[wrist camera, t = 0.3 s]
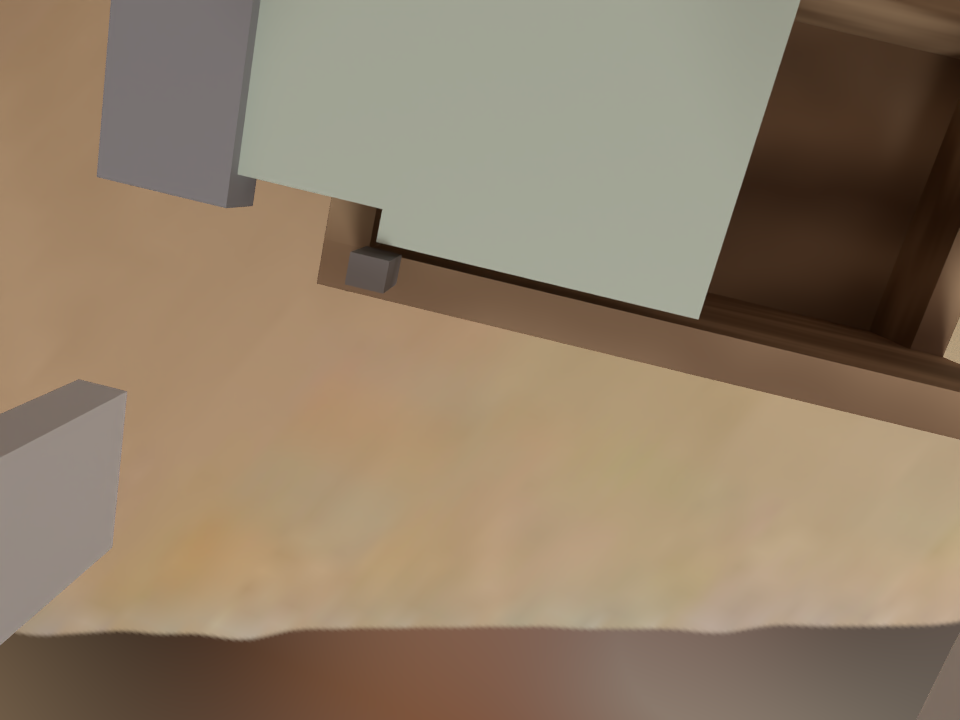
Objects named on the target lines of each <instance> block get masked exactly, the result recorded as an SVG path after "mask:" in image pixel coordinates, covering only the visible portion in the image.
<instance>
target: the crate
mask: <svg viewBox="0 0 960 720" xmlns="http://www.w3.org/2000/svg"><path fill="white" fill-rule="evenodd" d="M381 214H382V209H380V208H376V207H372V206H367V205H363V204H359V203H355V202H351V201H347V200H342V199H338V198H334V197H331V203H330V208H329V214H328V220H327V226H326V232H325V238H324V244H323V250H322V256H321V262H320V268H319V274H318V280H317V284H321V285H325V286H329V287H334V288H338V289H342V290H346V291H350V292H354V293H358V294H362V295H367V296H371V297H375V298H379V299H383V300H387V301H391V302H395V303H399V304H404V305H408V306H412V307H416V308H420V309H424V310H428V311H432V312H437V313H441V314H445V315H449V316H453V317H457V318H461V319H465V320H470V321H474V322H478V323H482V324H486V325H490V326H494V327H498V328H502V329H507V330H511V331H515V332H519V333H523V334H527V335H531V336H535V337H540V338H544V339H548V340H552V341H556V342H560V343H564V344H568V345H573V346H577V347H581V348H585V349H589V350H593V351H597V352H601V353H606V354H610V355H614V356H618V357H622V358H626V359H630V360H634V361H638V362H643V363H647V364H651V365H655V366H659V367H663V368H667V369H671V370H676V371H680V372H684V373H688V374H692V375H696V376H700V377H704V378H709V379H713V380H717V381H721V382H725V383H729V384H733V385H737V386H742V387H746V388H750V389H754V390H758V391H762V392H766V393H770V394H774V395H779V396H783V397H787V398H791V399H795V400H799V401H803V402H807V403H812V404H816V405H820V406H824V407H828V408H832V409H836V410H840V411H845V412H849V413H853V414H857V415H861V416H865V417H869V418H873V419H878V420H882V421H886V422H890V423H894V424H898V425H902V426H906V427H910V428H915V429H919V430H923V431H927V432H931V433H935V434H939V435H943V436H948V437H952V438H956V439H960V364H958V363H955V362H953V361H951V360H948V359H946V358H944V357H943V355H944V353H945V350H946V348H947V346H948V343H949V341H950V338H951V336H952V334H953V331H954V329H955V327H956V324H957V322H958V319H959V317H960V0H800V3H799V7H798V10H797V13H796V16H795V19H794V22H793V25H792V28H791V32H790V35H789V38H788V41H787V44H786V47H785V50H784V53H783V57H782V60H781V63H780V66H779V69H778V72H777V75H776V79H775V82H774V85H773V88H772V91H771V94H770V97H769V100H768V104H767V107H766V110H765V113H764V116H763V119H762V122H761V125H760V129H759V132H758V135H757V138H756V141H755V144H754V147H753V150H752V154H751V157H750V160H749V163H748V166H747V169H746V172H745V175H744V179H743V182H742V185H741V188H740V191H739V194H738V197H737V200H736V204H735V207H734V210H733V213H732V216H731V219H730V222H729V226H728V229H727V232H726V235H725V238H724V241H723V244H722V247H721V251H720V254H719V257H718V260H717V263H716V266H715V269H714V272H713V276H712V279H711V282H710V285H709V288H708V291H707V294H706V297H705V301H704V304H703V307H702V310H701V313H700V316H699V319H694V318H690V317H686V316H681V315H677V314H673V313H669V312H665V311H661V310H656V309H652V308H648V307H644V306H640V305H636V304H632V303H627V302H623V301H619V300H615V299H611V298H607V297H603V296H598V295H594V294H590V293H586V292H582V291H578V290H573V289H569V288H565V287H561V286H557V285H553V284H549V283H544V282H540V281H536V280H532V279H528V278H524V277H520V276H515V275H511V274H507V273H503V272H499V271H495V270H491V269H486V268H482V267H478V266H474V265H470V264H466V263H461V262H457V261H453V260H449V259H445V258H441V257H437V256H432V255H428V254H424V253H420V252H416V251H412V250H408V249H403V248H399V247H395V246H391V245H387V244H383V243H379V242H376V240H377V235H378V230H379V224H380V219H381Z"/></svg>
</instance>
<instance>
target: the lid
mask: <svg viewBox="0 0 960 720" xmlns="http://www.w3.org/2000/svg"><path fill="white" fill-rule="evenodd" d="M799 3H800V0H111V8H110V20H109V32H108V45H107V57H106V70H105V82H104V95H103V107H102V119H101V132H100V144H99V157H98V169H97V177H99V178H104V179H108V180H112V181H116V182H120V183H124V184H128V185H133V186H137V187H141V188H145V189H149V190H153V191H158V192H162V193H166V194H170V195H174V196H178V197H182V198H187V199H191V200H195V201H199V202H203V203H207V204H211V205H216V206H220V207H224V208H233V207H245V206H253V200H254V193H255V186H256V179H259V180H263V181H267V182H272V183H276V184H280V185H284V186H288V187H292V188H297V189H301V190H305V191H309V192H313V193H317V194H322V195H326V196H330V197H334V198H338V199H342V200H347V201H351V202H355V203H359V204H363V205H367V206H372V207H376V208H380V209H382V214H381V219H380V224H379V230H378V235H377V240H376V242H379V243H383V244H387V245H391V246H395V247H399V248H403V249H408V250H412V251H416V252H420V253H424V254H428V255H432V256H437V257H441V258H445V259H449V260H453V261H457V262H461V263H466V264H470V265H474V266H478V267H482V268H486V269H491V270H495V271H499V272H503V273H507V274H511V275H515V276H520V277H524V278H528V279H532V280H536V281H540V282H544V283H549V284H553V285H557V286H561V287H565V288H569V289H573V290H578V291H582V292H586V293H590V294H594V295H598V296H603V297H607V298H611V299H615V300H619V301H623V302H627V303H632V304H636V305H640V306H644V307H648V308H652V309H656V310H661V311H665V312H669V313H673V314H677V315H681V316H686V317H690V318H694V319H699V316H700V313H701V310H702V307H703V304H704V301H705V297H706V294H707V291H708V288H709V285H710V282H711V279H712V276H713V272H714V269H715V266H716V263H717V260H718V257H719V254H720V251H721V247H722V244H723V241H724V238H725V235H726V232H727V229H728V226H729V222H730V219H731V216H732V213H733V210H734V207H735V204H736V200H737V197H738V194H739V191H740V188H741V185H742V182H743V179H744V175H745V172H746V169H747V166H748V163H749V160H750V157H751V154H752V150H753V147H754V144H755V141H756V138H757V135H758V132H759V129H760V125H761V122H762V119H763V116H764V113H765V110H766V107H767V104H768V100H769V97H770V94H771V91H772V88H773V85H774V82H775V79H776V75H777V72H778V69H779V66H780V63H781V60H782V57H783V53H784V50H785V47H786V44H787V41H788V38H789V35H790V32H791V28H792V25H793V22H794V19H795V16H796V13H797V10H798V7H799Z"/></svg>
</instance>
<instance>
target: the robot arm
mask: <svg viewBox="0 0 960 720" xmlns="http://www.w3.org/2000/svg"><path fill="white" fill-rule="evenodd" d="M126 398H127V391H124V390H120V389H116V388H112V387H108V386H104V385H100V384H96V383H92V382H88V381H84V380H80V379H79V380H76V381H74V382H72V383H70V384H67V385H65V386H63V387H60V388H58V389H56V390H54V391H51V392H49V393H47V394H45V395H42V396H40V397H38V398H36V399H33V400H31V401H29V402H26V403H24V404H22V405H20V406H17V407H15V408H13V409H11V410H8V411H6V412H4V413H2V414H0V645H1V644H2V643H3V642H4V641H5V640H7V639H8V638H9V637H10V636H11V635H12V634H13V633H15V632H16V631H17V630H18V629H19V628H20V627H21V626H23V625H24V624H25V623H26V622H27V621H28V620H30V619H31V618H32V617H33V616H34V615H35V614H36V613H38V612H39V611H40V610H41V609H42V608H43V607H44V606H46V605H47V604H48V603H49V602H50V601H51V600H53V599H54V598H55V597H56V596H57V595H58V594H59V593H61V592H62V591H63V590H64V589H65V588H66V587H67V586H69V585H70V584H71V583H72V582H73V581H74V580H75V579H77V578H78V577H79V576H80V575H81V574H82V573H84V572H85V571H86V570H87V569H88V568H89V567H90V566H92V565H93V564H94V563H95V562H96V561H97V560H98V559H100V558H101V557H102V556H103V555H104V554H105V553H107V552H108V551H109V550H110V549H111V548H112V544H113V533H114V523H115V513H116V502H117V492H118V481H119V471H120V461H121V450H122V440H123V429H124V419H125V408H126ZM916 720H960V633H959V635H958V636H957V639H956V640H955V642H954V645H953V647H952V649H951V651H950V653H949V655H948V657H947V659H946V661H945V663H944V665H943V667H942V669H941V671H940V673H939V675H938V677H937V679H936V681H935V683H934V685H933V687H932V689H931V691H930V693H929V695H928V697H927V699H926V701H925V704H924V705H923V707H922V709H921V711H920V713H919V715H918V717H917V719H916Z"/></svg>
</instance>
